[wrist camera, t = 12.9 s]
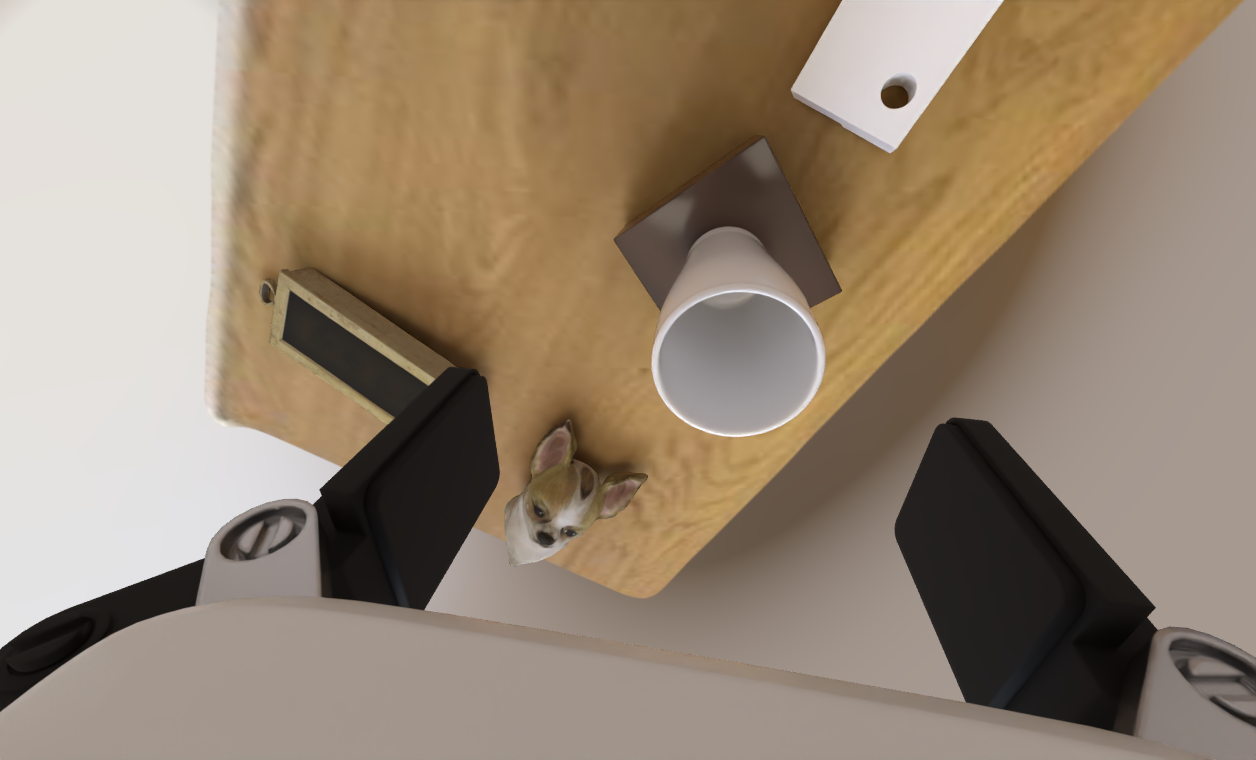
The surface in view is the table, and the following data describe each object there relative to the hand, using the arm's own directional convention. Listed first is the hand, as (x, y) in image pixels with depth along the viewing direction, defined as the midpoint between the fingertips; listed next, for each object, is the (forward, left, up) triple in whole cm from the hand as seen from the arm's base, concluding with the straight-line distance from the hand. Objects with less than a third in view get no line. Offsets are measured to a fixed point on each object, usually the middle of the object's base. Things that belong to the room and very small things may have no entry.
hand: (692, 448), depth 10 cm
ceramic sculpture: (+21, +20, -29) cm, 40 cm away
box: (+32, 0, -29) cm, 43 cm away
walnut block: (-1, +3, -28) cm, 28 cm away
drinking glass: (-1, +3, -24) cm, 24 cm away
